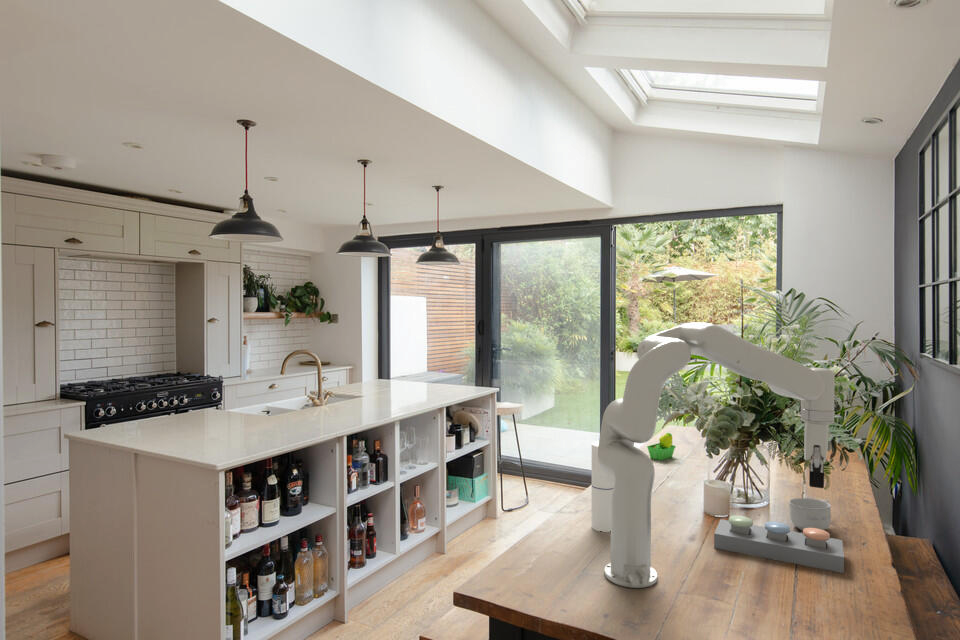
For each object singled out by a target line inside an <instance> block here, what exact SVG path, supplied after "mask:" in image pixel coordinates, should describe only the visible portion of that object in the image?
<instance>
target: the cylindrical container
mask: <svg viewBox="0 0 960 640" xmlns="http://www.w3.org/2000/svg"><path fill="white" fill-rule="evenodd" d="M598 446H599V441H593V442H591V528H592V530H594V531H596V532H600V531H602V532H601V533H611V532H610V531H611V496H612V491H613V488H614V479H613V478H612V477H610V476H609V475H608V474H606V473H605V472H604V471H603V470H602V469H601V467H600V465H599V462H598Z"/></svg>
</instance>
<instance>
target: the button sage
mask: <svg viewBox="0 0 960 640" xmlns="http://www.w3.org/2000/svg"><path fill="white" fill-rule="evenodd" d="M728 521H729V523H730V524H731V532H735V533H740V534H746V535H750V527H751V526H753V525H754V523H753V519H752V518H750V517H747V516H743V515H730V516H729V517H728Z"/></svg>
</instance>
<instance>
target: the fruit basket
mask: <svg viewBox="0 0 960 640" xmlns="http://www.w3.org/2000/svg"><path fill="white" fill-rule="evenodd" d="M658 441H659V443H656V444H655V443H654V444H651V445H646V448H647V450H648V454H649V458H650V459H653V460H658V461H663V460H667V459H669V458H673V455H674V452H675V449H676V445H673V434H671V432H666V433H665V434H664V435H662V436H661V437H659V439H658Z"/></svg>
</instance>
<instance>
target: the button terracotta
mask: <svg viewBox="0 0 960 640" xmlns="http://www.w3.org/2000/svg"><path fill="white" fill-rule="evenodd" d="M802 533H803V535H804V536H805V537H806V545H807V546H813V547H819V548H824V549H826V540H829V538H831V537H830V536H831V534H830V533H829V532H828V531H826V530H821V529H817V528H804V529H803V530H802Z"/></svg>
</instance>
